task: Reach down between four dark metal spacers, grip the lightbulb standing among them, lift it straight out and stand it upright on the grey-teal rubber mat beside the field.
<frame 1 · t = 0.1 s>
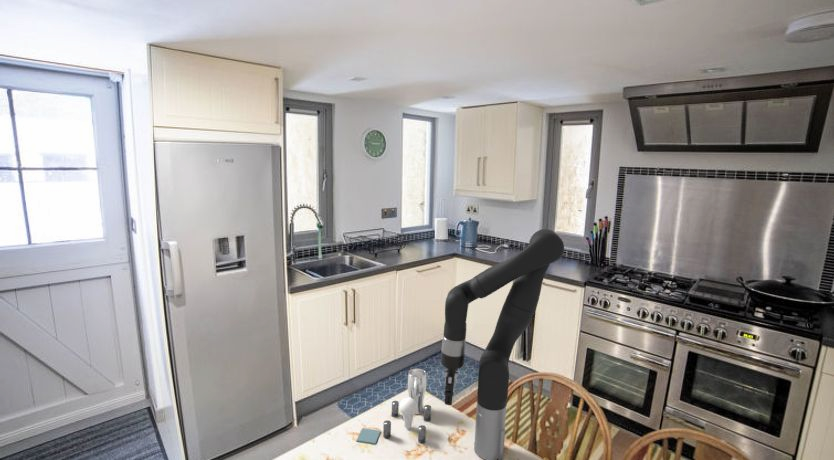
hand: (449, 396, 131), 17 cm above the table, tool pointing down, fingers open, 8 cm apart
spacers: (407, 427, 142), on the table
mat: (368, 436, 137), on the table
lightbulb: (407, 428, 142), on the table
beer glass: (416, 410, 153), on the table
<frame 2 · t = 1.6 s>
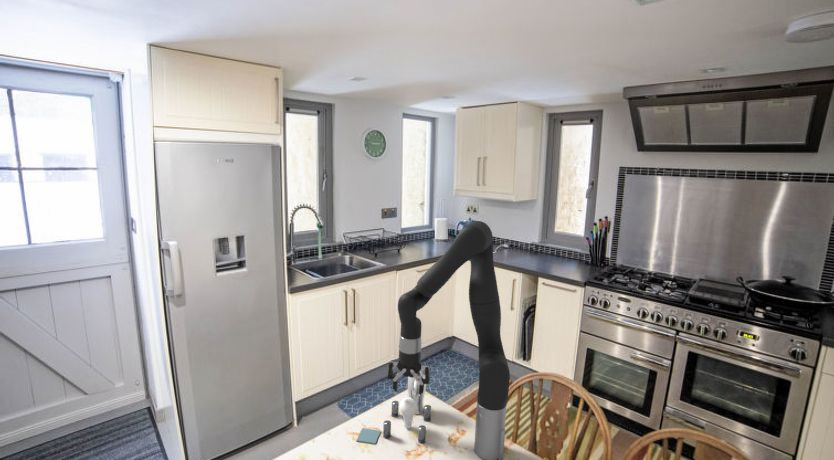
hand: (408, 392, 140), 14 cm above the table, tool pointing down, fingers open, 8 cm apart
nothing on the table moved.
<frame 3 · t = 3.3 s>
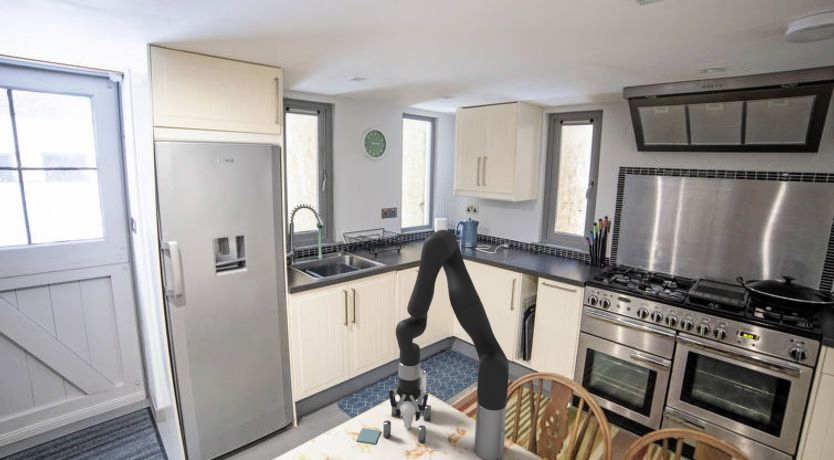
hand: (408, 418, 142), 4 cm above the table, tool pointing down, fingers closed on lightbulb, 5 cm apart
lightbulb: (407, 428, 142), on the table, touching gripper
everything else where it was.
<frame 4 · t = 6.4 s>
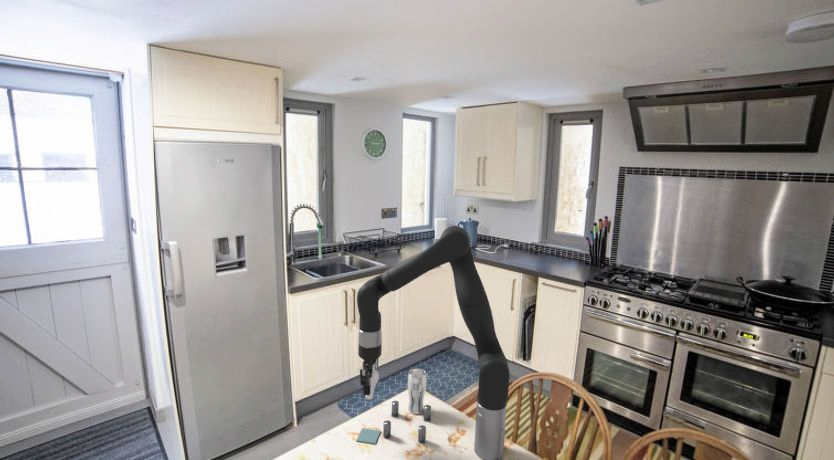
hand: (369, 389, 134), 17 cm above the table, tool pointing down, fingers closed on lightbulb, 5 cm apart
lightbulb: (369, 399, 135), point 14 cm above the table, touching gripper
everything else where it was.
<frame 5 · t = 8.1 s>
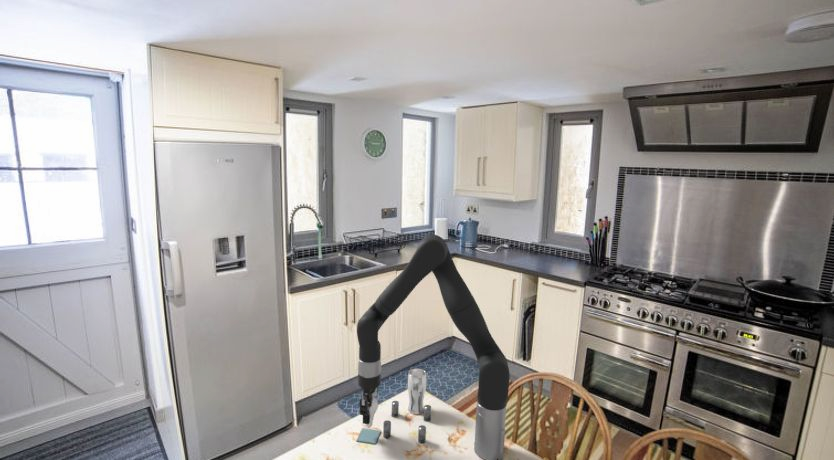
hand: (368, 417, 136), 7 cm above the table, tool pointing down, fingers closed on lightbulb, 5 cm apart
lightbulb: (368, 427, 137), point 3 cm above the table, touching gripper
everything else where it was.
when the fingers open (5 cm above the table, at t = 9.4 s): lightbulb drops 1 cm, resting on mat.
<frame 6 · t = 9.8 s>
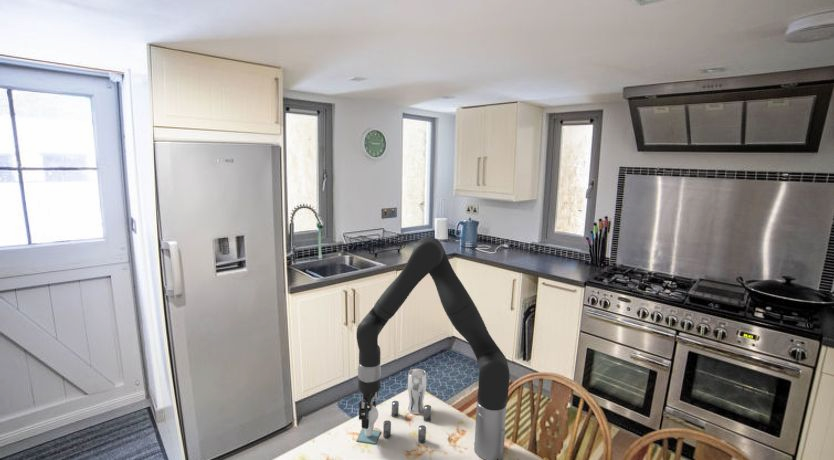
hand: (368, 420, 136), 6 cm above the table, tool pointing down, fingers open, 8 cm apart
lightbulb: (368, 436, 137), resting on mat
everything else where it was.
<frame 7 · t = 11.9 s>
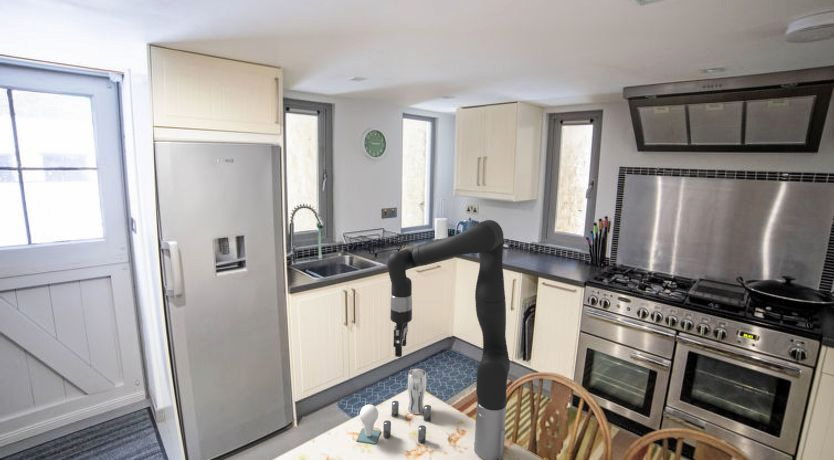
hand: (400, 350, 143), 26 cm above the table, tool pointing down, fingers open, 8 cm apart
nothing on the table moved.
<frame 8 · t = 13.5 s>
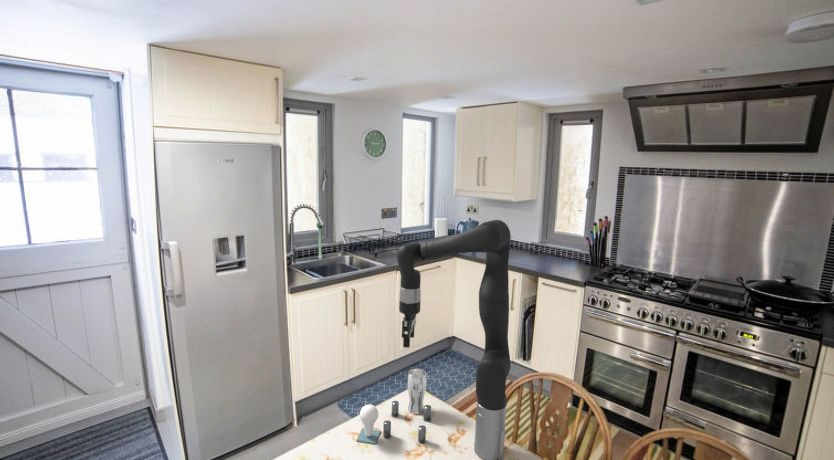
hand: (408, 342, 146), 28 cm above the table, tool pointing down, fingers open, 8 cm apart
nothing on the table moved.
at the end: lightbulb 0.3 cm off-centre on the mat, point 0.2 cm above the mat's base; lightbulb tilted 0°; the gripper is holding nothing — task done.
